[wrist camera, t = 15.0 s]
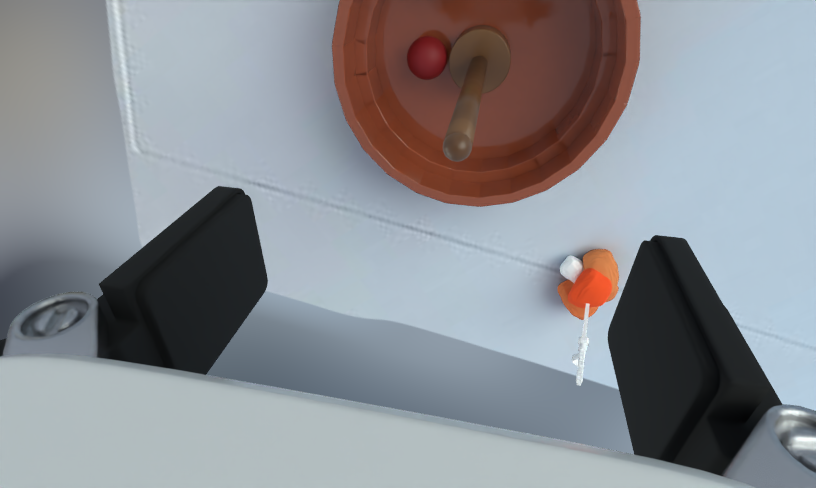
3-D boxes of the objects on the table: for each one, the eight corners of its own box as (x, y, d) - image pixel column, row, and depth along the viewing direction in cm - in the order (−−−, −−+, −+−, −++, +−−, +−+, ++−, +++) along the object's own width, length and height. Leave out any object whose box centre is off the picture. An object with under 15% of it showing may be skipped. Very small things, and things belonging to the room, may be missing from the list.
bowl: (350, -107, 30) (320, -119, 25) (658, -106, 27) (692, -118, 22) (361, 163, 41) (341, 192, 36) (583, 184, 38) (594, 219, 33)
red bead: (434, 32, 34) (399, 34, 33) (456, 37, 32) (420, 40, 30) (432, 73, 35) (399, 77, 34) (453, 81, 33) (419, 85, 32)
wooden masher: (453, 23, 33) (402, 91, 17) (514, 26, 32) (521, 99, 16) (449, 85, 35) (401, 196, 19) (506, 88, 34) (504, 206, 19)
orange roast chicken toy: (532, 306, 46) (539, 402, 36) (574, 233, 41) (595, 323, 31) (588, 324, 46) (610, 425, 36) (637, 253, 41) (679, 350, 31)
